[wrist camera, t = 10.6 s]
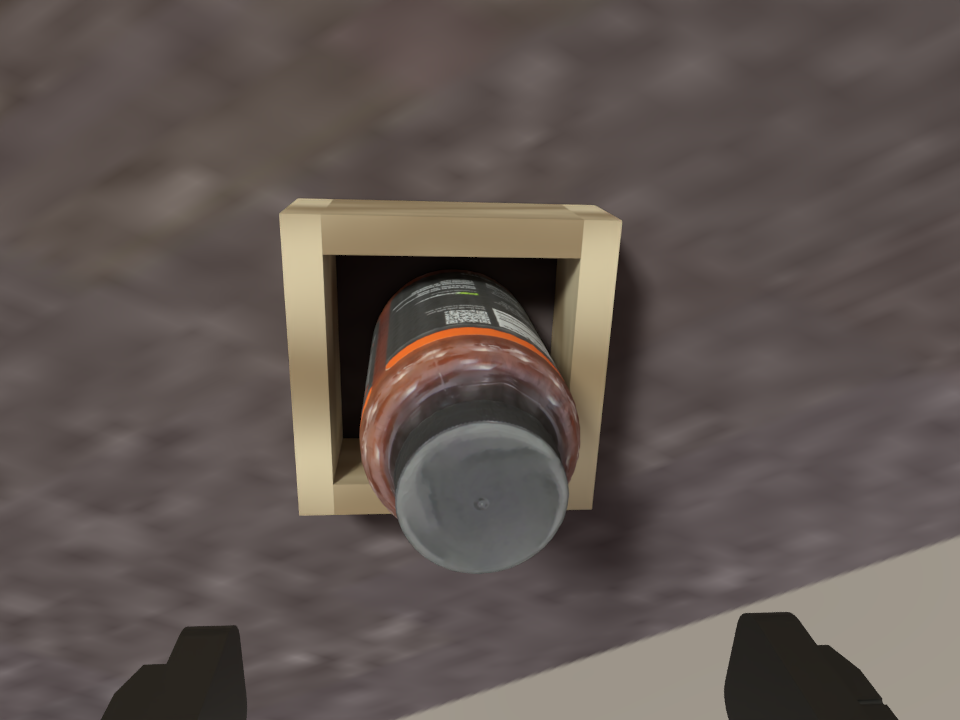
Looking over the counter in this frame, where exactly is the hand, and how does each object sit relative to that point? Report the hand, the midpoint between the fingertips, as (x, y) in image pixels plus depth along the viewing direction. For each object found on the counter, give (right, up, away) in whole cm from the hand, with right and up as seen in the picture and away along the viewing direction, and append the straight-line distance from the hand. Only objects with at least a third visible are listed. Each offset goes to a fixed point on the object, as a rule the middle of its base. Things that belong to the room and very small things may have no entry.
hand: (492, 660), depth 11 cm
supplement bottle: (-1, +6, +15) cm, 16 cm away
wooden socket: (-1, +6, +15) cm, 16 cm away
